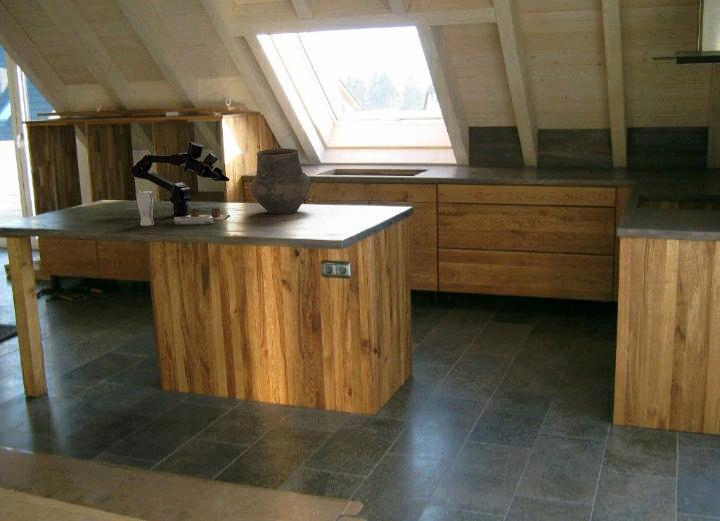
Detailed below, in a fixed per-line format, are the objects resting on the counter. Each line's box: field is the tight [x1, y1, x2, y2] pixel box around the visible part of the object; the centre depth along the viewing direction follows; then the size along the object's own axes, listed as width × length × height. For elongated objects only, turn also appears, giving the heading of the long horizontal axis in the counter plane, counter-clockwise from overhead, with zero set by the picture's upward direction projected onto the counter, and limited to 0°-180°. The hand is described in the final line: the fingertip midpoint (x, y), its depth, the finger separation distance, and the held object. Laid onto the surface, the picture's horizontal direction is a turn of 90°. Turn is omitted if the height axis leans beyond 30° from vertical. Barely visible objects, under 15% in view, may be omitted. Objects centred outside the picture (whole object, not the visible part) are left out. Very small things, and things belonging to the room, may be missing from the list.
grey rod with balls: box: [173, 216, 214, 225], centre depth 374 cm, size 18×4×3 cm, turn 81°
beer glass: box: [136, 190, 155, 227], centre depth 373 cm, size 7×7×15 cm
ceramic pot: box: [250, 148, 311, 215], centre depth 396 cm, size 28×28×30 cm
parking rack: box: [185, 207, 231, 222], centre depth 386 cm, size 20×11×5 cm, turn 81°
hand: (224, 178), depth 388 cm, fingers open, 9 cm apart
